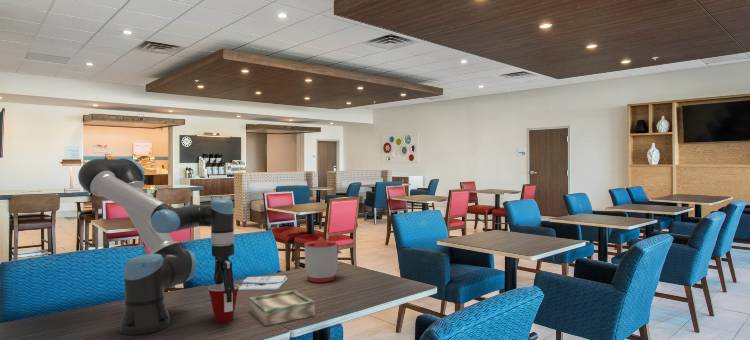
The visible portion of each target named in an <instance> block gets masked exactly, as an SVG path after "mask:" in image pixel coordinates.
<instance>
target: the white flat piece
mask: <svg viewBox="0 0 750 340" xmlns="http://www.w3.org/2000/svg"><path fill="white" fill-rule="evenodd" d="M287 280H288V277H287V275H265V276H264V275H262V276H247V277H246V278H245V279H244V280H242V281H241V285H240V287H239V289H238V291H279V290H280V288H281V287H282V286H283V284H284V283H286V281H287Z"/></svg>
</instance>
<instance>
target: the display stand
mask: <svg viewBox="0 0 750 340" xmlns="http://www.w3.org/2000/svg"><path fill="white" fill-rule="evenodd" d="M248 299H249V300H248V301H249V303H248V304H249V313H251V314H252V315H253V316H254V317H255V318H256V319H257V320H259V321H260V323H262V324H263V325H264V326H265V327H267V326H272V325H276V324H280V323H281V324H282V323H286V322H291V321H296V320H299V319H305V318H309V317H315V316H316V311H315V310H316V306H315V305H316V304H315V303H316V302H315V301H314V300H313V299H311V298H309V297H307V296H306V295H305V294H303V293H301V292H300V291H298V290H296V289H293V290H288V291H287V290H286V291H281V292H280V291H279V292H276V293H275V292H274V293H269V294H263V295H257V296H251V297H249V298H248Z"/></svg>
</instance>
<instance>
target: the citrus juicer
mask: <svg viewBox="0 0 750 340" xmlns="http://www.w3.org/2000/svg"><path fill="white" fill-rule="evenodd" d="M303 245H304V266H305V272H306V276H307V278H308V281H310V282H313V283H327V282H328V283H329V281H330V282H332V281H333V280H335V278H336V276H337V271H338V270H337V269H338V266H339V264H338V262H339V261H338V260H339V259H338V258H339V257H338V256H339V254H340V255H341V254H342V255H343V252H342V251H341V250H340V249H339V244H338V243H336V241H334V240H327V239H325V238H324V237H323V236H319V237H318V238H317V240H312V241H307V242H304V243H303Z"/></svg>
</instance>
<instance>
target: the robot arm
mask: <svg viewBox="0 0 750 340" xmlns="http://www.w3.org/2000/svg"><path fill="white" fill-rule="evenodd" d="M77 178H78V179H77V180H78V182H79V184H80V186H81V187H82V188H83V189H84V190H85V191H86V192H88V193H89V194H92V195H93V196H95V197H103V198H105V199H107V200H109V201H111V202H113V203H115V204H117V205H119V206H120V207H122V208H124V211H125V212H126V214H127V215H128V217H129V219H130V221H131V223H132V224H133V226H134V228H135V229H136V231H137V233H138V235H139V236H140V238H141V240H142V242H143V243H144V246H145V247H146V249H147V251H148V252H149V253H148V254H147V253H146V254H142V255H138V256H135V257H133V258H130V259H128V261H126V262H125V264H124V272H123V278H124V279H123V280H124V281H123V282H124V303H125V304H124V310H123V313H122V316H121V319H120V321H119V332H120V333H121V334H123V335H129V336H130V335H131V336H133V335H134V336H137V335H145V334H151V333H154V332H155V333H156V332H158V331H161V330H164V329H165V328H167V327H168V326H170V324H171V315H170V313H169V311H168V308H167V305H166V303H165V297H164V296H165V292H164V290H166V289H169V288H173V287H175V286H178V285H182V284H184V283H186V282H188V281H190V280H192V278H193V277H194V276H195V274H196V272H197V268H198V261H197V257H196V255H195V253H193V251H191V250H188V249H184V248H183V246H182V245H181V243H180V242H179V241H175V240H173V239H172V237H171V235H170V233H173V232H179V231H183V230H188V229H193V228H198V227H209V228H210V231H211V232H210V239H211V240H210V241H211V243H210V244H211V256H213V257H214V274H213V281H214V285H218V284H224V290H225V291H223V293H224V312H229V311H233V291H235V289H234V284H235V282H234V274H233V273H234V272H233V262H232V261H231V260H230V258H229V257H231V256H234V255H235V244H234V242H235V236H236V233H235V231H234V230H235V228H234V223H235V222H234V217H235V215H234V214H235V209H234V202H233V200H232V199H227V198H225V199H224V198H223V199H222V198H221V199H212V200H211V201H210V205H208V204H186V205H183V206H181V207H174V206H171V205H169V204H168V203H165V202H163V201H162V200H159V199H158V198H156V197H154V196H152V195H150V194H148V193H146V192H145V191H144V190H143V189H144V187H145V178H146V177H145V171H144V168H143V166H142V165H141V164H140V163H139V162H138V161H136V160H134V159H131V158H123V157H122V158H95V159H94V158H93V159H91V160H89V161H87V162H85V163H84V164H82V166H80V169H79V171H78V175H77ZM228 288H229V289H228Z"/></svg>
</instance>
